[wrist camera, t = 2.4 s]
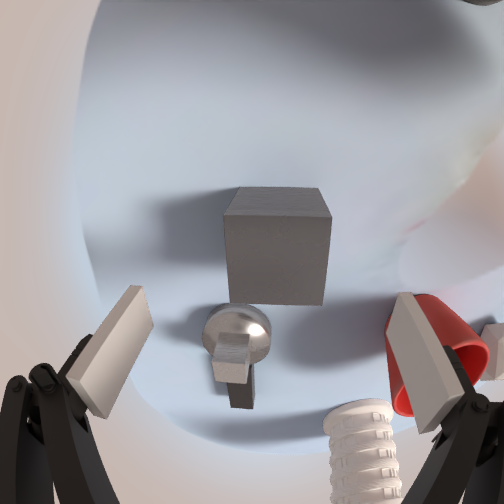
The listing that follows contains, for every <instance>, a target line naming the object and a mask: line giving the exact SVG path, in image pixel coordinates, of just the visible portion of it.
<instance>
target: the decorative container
mask: <svg viewBox="0 0 504 504" xmlns="http://www.w3.org/2000/svg"><path fill="white" fill-rule="evenodd" d="M392 418H393V409H392V406H391V404H390V403H389V402H388V401H386V400H382V399H363V400H358V401H353V402H350V403H347V404H344V405H342V406H340V407H338V408H335V409H334V410H332V411H331V412H329V413H328V414H327V415H326V416H325V418H324V420H323V430H324V432H325V433H326V434H327V435H328V436H330V439H329V448H330V451H331V453H332V454H331V457H330V461H329V462H330V463H329V464H330V466H331V468H332V474H331V477H330V482H331V485H332V486H333V492H332V493H331V497H330V500H331V503H333V504H401V502H402V501H403V499H404V498H401V492H400V489H401V487H402V482H401V479H400V478H399V477H398V470H399V463H398V461H397V460H396V458H395V453H396V446H395V444H394V442H393V441H392V435H393V429H392V427H391V426H390V424H389V422H390V421H391V419H392Z"/></svg>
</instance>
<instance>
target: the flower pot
mask: <svg viewBox="0 0 504 504" xmlns="http://www.w3.org/2000/svg"><path fill="white" fill-rule="evenodd" d="M414 298H415V299H416V301H417V303H418V304H419V306H420V308H421V309H422V311H423V313H424V314H425V316H426V318H427V320H428V321H429V323H430V325H431V327H432V328H433V330H434V332H435V334H436V336H437V338H438V339H439V341H440V343H441V345H442V346H445V345H449V346H450V347H451V348H452V349H453V350H454V351H455V352H456V353H457V355H458V357H459V359H460V362H461V363H462V365H463V368H464V369H465V371H466V373H467V375H468V377H469V379H470V381H471V383H472V385H473V386H474V385H475V384H476V382H477V381H478V380H479V379H480V377H481V376H482V374H483V373H484V371H485V369H486V367H487V365H488V361H489V349H488V346H487V345H486V344H485V342H484V341H483V340H482V339H481V338H480V337H479V336H478V335H477V334H476V333H475V332H474V331H473V330H472V329H471V327H470V326H469V325H468V324H467V323H465V322H464V321H463V320H462V319H461V318H460V317H459V316H458V315H457V314H456V313H455V312H454V311H453V310H451V309H450V308H449V307H448V306H447V305H446V304H444V303H443V302H442V301H441V300H440V299H438V298H437V297H435V296H433V295H427V294H424V295H418V296H414ZM391 316H392V314H391V315H390V317H389V318H388V320H387V322H386V325H385V342H386V353H387V362H388V371H389V381H390V391H391V400H392V407H393V409H394V411H395V412H396V413H397V414H399V415H401V416H406V417H414V414H413V410H412V407H411V404H410V400H409V397H408V394H407V391H406V388H405V385H404V382H403V379H402V376H401V373H400V370H399V367H398V364H397V362H396V359H395V356H394V353H393V351H392V348H391V345H390V343H389V340H388V337H387V335H386V331H387V328H388V325H389V322H390V319H391Z"/></svg>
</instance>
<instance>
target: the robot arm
mask: <svg viewBox="0 0 504 504" xmlns="http://www.w3.org/2000/svg"><path fill="white" fill-rule="evenodd" d="M464 1H467V2H469V3H472V4H476V5H482V6H487V5H491V4H494V3H497V2H500V1H502V0H464ZM153 327H154V325H153V322H152V318H151V315H150V311H149V308H148V304H147V300H146V297H145V293H144V289H143V286H134V285H130V287H129V288H128V289H127V290H126V292H125V293H124V294H123V296H122V297H121V298H120V300H119V301H118V302H117V304H116V305H115V306H114V308H113V309H112V310H111V312H110V313H109V314H108V316H107V317H106V318H105V320H104V321H103V322H102V324H101V325H100V327H99V328H98V330H97V331H96V332H95V334H94V335H91V334H88V335H87V336H86V337H84V338H83V339H82V340H81V341H80V342H79V344H78V345H77V346H76V349H74V351H73V352H72V353H71V354H72V355H70V356H69V358H68V359H67V361H66V362H65V364H64V365H63V367H62V368H61V370H60V371H59V372H58V374H56V372H55V370H54V369H53V367H52V366H51V365H50V364H47V363H41V364H38V365H37V366H35V367H34V368H33V369H32V370H31V371H30V373H29V380H30V381H31V382H32V383H28V381H27V380H26V378H25V377H23V376H21V375H18V376H14V377H13V378H11V379H10V380H9V382H8V383H7V386H6V390H5V394H4V398H3V402H2V407H1V412H0V504H55V503H54V492H53V482H54V486H55V489H56V493H57V496H58V499H59V502H60V504H120V503H119V501H118V499H117V497H116V494H115V492H114V490H113V488H112V485H111V483H110V481H109V478H108V476H107V473H106V471H105V468H104V466H103V463H102V460H101V458H100V455H99V452H98V450H97V446H96V443H95V441H94V437H93V434H92V431H91V427H90V424H89V421H88V417H87V415H86V414H85V412H86V410H87V408H88V409H89V410H90V411H91V413H92V414H93V415H95V416H97V417H100V418H103V419H107V418H108V416H109V414H110V412H111V410H112V407H113V405H114V403H115V401H116V399H117V397H118V395H119V393H120V391H121V389H122V387H123V385H124V383H125V381H126V379H127V377H128V375H129V373H130V371H131V369H132V367H133V365H134V363H135V361H136V359H137V357H138V355H139V353H140V351H141V349H142V347H143V346H144V344H145V342H146V340H147V338H148V336H149V334H150V332H151V330H152V329H153ZM386 335H387V337H388V340H389V343H390V345H391V348H392V351H393V353H394V356H395V359H396V362H397V364H398V367H399V370H400V373H401V376H402V379H403V382H404V385H405V388H406V391H407V394H408V397H409V400H410V404H411V407H412V410H413V414H414V417H415V421H416V424H417V428H418V431H419V434H422V433H427V432H430V431H434V430H435V429H436V428H437V426H438V425H439V424H441V427H442V430H441V431H440V432H439V433H438V434H437V435H436V436H435V437H434V439H433V440H432V442H434V441H435V440H436V441H435V443H434V446H433V448H432V450H431V452H430V454H429V456H428V458H427V460H426V462H425V463H424V465H423V467H422V469H421V471H420V473H419V474H418V476H417V478H416V480H415V481H414V483H413V485H412V486H411V488H410V490H409V491H408V493H407V494H406V496H405V498H404V499H403V501H402V502H401V504H458V503H459V501H460V499H461V497H462V495H463V492H464V490H465V493H464V497H463V502H462V504H504V401H503V402H490V401H489V400H488V398H487V397H486V396H484V395H482V394H479V393H476V391H475V389H474V387H473V385H472V383H471V381H470V379H469V377H468V375H467V373H466V371H465V369H464V368H463V365H462V363H461V362H460V359H459V357H458V355H457V353H456V352H455V351H454V350H453V349H452V348H451V347H450V346H449V345H445V346H442V345H441V343H440V341H439V339H438V338H437V336H436V334H435V332H434V330H433V328H432V327H431V325H430V323H429V321H428V320H427V318H426V316H425V314H424V313H423V311H422V309H421V308H420V306H419V304H418V303H417V301H416V299H415V298H414V296H413V294H412V293H411V292H399V293H398V296H397V300H396V303H395V306H394V310H393V313H392V316H391V319H390V322H389V325H388V328H387V331H386ZM27 418H29V420H28V423H27ZM465 488H466V489H465Z"/></svg>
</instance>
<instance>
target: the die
mask: <svg viewBox="0 0 504 504" xmlns="http://www.w3.org/2000/svg"><path fill="white" fill-rule="evenodd" d="M480 338H481V339H482V340H483V341H484V342H485V344H486V345H487V346H488V349H489V361H488V365H487V367H486V369H485V371H484V373H483V374H482V376H481V377H480V380H481V381H490V380H504V323H497V324H487V325H485V326H484V329H483V331H482V334H481V337H480Z"/></svg>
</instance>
